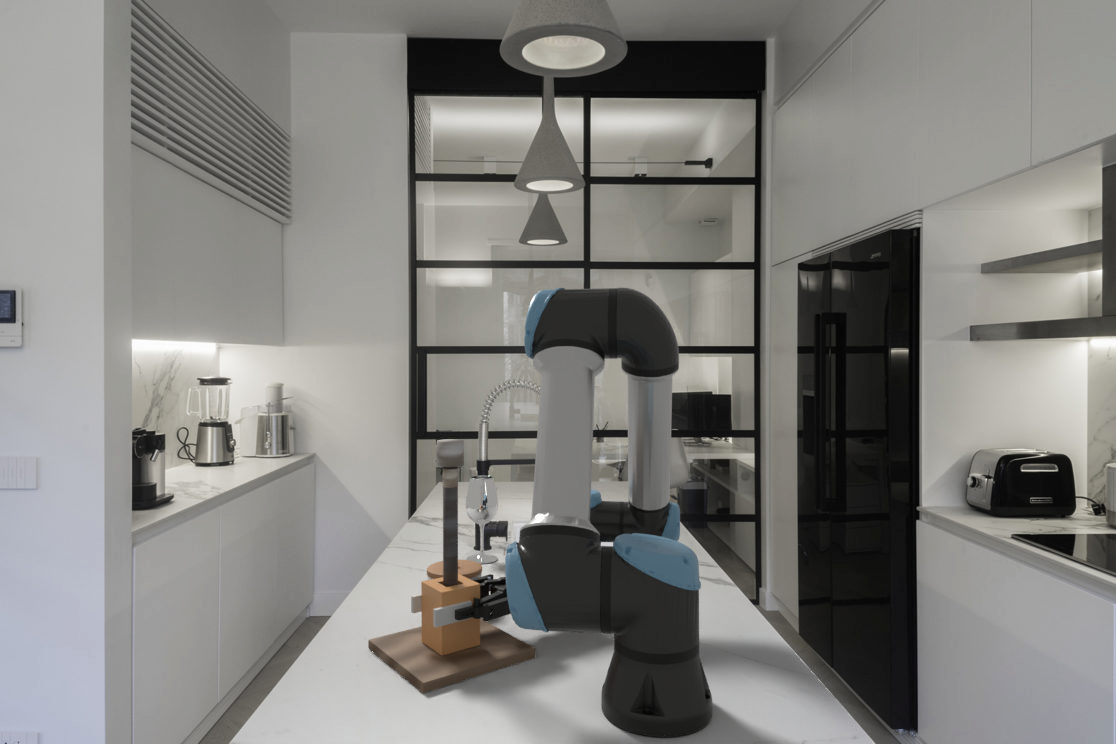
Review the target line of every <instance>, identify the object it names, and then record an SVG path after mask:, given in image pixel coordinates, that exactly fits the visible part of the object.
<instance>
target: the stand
mask: <svg viewBox="0 0 1116 744" xmlns="http://www.w3.org/2000/svg"><path fill="white" fill-rule="evenodd" d="M464 447H465V440H464V439H460V438H459V439H456V438H455V439H452V438H448V439H439V440H438V439H437V440H436V466H437V467H442V509H443V510H442V561H443V586H445V587H450V586H454V585H458V560H459V491H458V490H459V467H463V466H464V465H465V448H464ZM367 641H368V642H367V643H368V647H367V648H369V649H370V651H371V652H372V651H373V652H374V653H375V656H377V657H378V658H379V657H380V658H379V659H381V660H382V661H383V662H384V663H385V664H387V665H388V666H389V667H391V668H392V669H393V670H395V671H396V672H397V673H398V674H399V675H400V676H401V677H403V678H404V679H405V680H407V682H409V683H410V684H411V685H412V686H414V687H415V688H416V689H417V690H419V691H420V692H421V693H423V694H426V693H429V692H432V691H435V690H438V689H442V688H445V687H447V686H451V685H454V684H457V683H460V682H463V681H467V680H470V679H473V678H477V677H479V676H482V675H486V674H489V673H493V672H495V671H499V670H502V669H504V668H507V667H511V666H512V667H513V666H514V665H518V664H520V663H523V662H527V661H531V660H534V659H536V657H537V656H536V655H537V654H536V651H537V650H536V649H537V648H535V647H534V646H532V645H530V644H528V643H526V642H524V641H523V640H521V639H519V638H517V637H515V636H513V635H512V634H510V633H508V632H506V631H504V630H503V629H501V628H499V627H497V626H496V625H494V624H492V623H490V622H489V621H483V618H480V645H478V646H475V647H471V648H468V649H464V650H460V651H457V652H453V653H450V654H446V655H443V656H442V655H440V654H439V653H437V652H436V651H434V650H433V649H431V648H430V647H428V646H427V645H426V644H424V643H423V642H422V625H421V626H417V627H414V628H410V629H406V630H405V629H404V630H402V631H398V632H394V633H389V634H385V635H382V636H378V637H375V638H370V639H368V640H367ZM369 649H368V650H369ZM373 652H372V653H373ZM374 653H373V654H374Z"/></svg>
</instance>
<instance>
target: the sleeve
mask: <svg viewBox="0 0 1116 744" xmlns="http://www.w3.org/2000/svg"><path fill="white" fill-rule="evenodd" d="M420 594H422V612H421V626H422V642H423V643H424V644H426V645H427V646H428V647H430V648H431V649H433V650H434V651H436V652H437V653H439V654H440V655H442V656H443V655H446V654H450V653H453V652H457V651H460V650H464V649H468V648H471V647H475V646H478V645H480V619H475V618H474V617H472V618H471V619H467V620H463V621H459V622H456V623H452V624H448V625H444V626H440V627H436V628H435V627H434V626H433V609H435V608H439V607H444V606H448V605H452V604H456V603H461V602H465V601H469V600H470V601H472V606H473V605H474V597H475V598H479V599H480V584H479V583H477V582H475V581H473V580H471V579H468V578H466V577H464V576H462V575H460V574H458V585H454V586H450V587H445V586H443V577H441V578H436V579H431V580H423V581H421V593H420Z"/></svg>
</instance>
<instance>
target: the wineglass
mask: <svg viewBox="0 0 1116 744" xmlns="http://www.w3.org/2000/svg"><path fill="white" fill-rule="evenodd" d="M468 483H469V484H468V486H467V492H466V498H465V511H466V515H467V517H468V518H469V519H470V520H471V521H472V522H473V523H475V524H476V525H478V526H479V531H480V533H479V535H480V538H479V539H480V540H479V541H480V550H479V553H478V554H477V553H476V554H472V555H469V556H467V557H466V559H465V560H470V561H474V562H477V563H479V564H481V565H482V564H483V565H484V564H485V565H486V564H491V563H495V562H497V560H498V557H497V555H493V554H489V553H485V549H484V530H485V525H486V524H489V523H490V522H492V520H493V519H495V517H496V516H497V513H498V509H499V500H498V493H497V489H496V485H495V480H494V476H492V475H484V474H483V475H473V476H471V477H470V478H469V482H468Z"/></svg>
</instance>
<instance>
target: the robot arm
mask: <svg viewBox="0 0 1116 744" xmlns="http://www.w3.org/2000/svg"><path fill="white" fill-rule="evenodd" d="M525 317H526V319H525V325H524V330H525V331H524V338H523V340H524V352H525V355H526V356H527V358H529V359H531V360H532V364H533V367H534V369H535V370H536V371H537V372H538V373H539V374H540V375H541V376H540V378H541V379H540V392H539V403H538V416H537V419H538V420H537V432H536V433H537V435H536V448H535V461H534V473H533V474H534V476H533V478H534V479H533V491H532V503H531V505H532V506H531V516H530V520H528V521H527V522H526V523H525V524H524V525H523V526H522V527H520V530H519V536H518V538H519V539H518V541H513V542H511V543H509V544H508V545H507V546H506V554H505V560H504V561H505V563H504V568H505V571H504V573H505V576H499V577H498V578H494V574H490V573H488V574H486V575H483V576H481V577H478V578H472V579H471V580H473V581H475V582H477V583H479V584H480V599H479V598H475V597H474V605H473V606H472V601H470V600H469V601H465V602H461V603H456V604H452V605H448V606H444V607H439V608H435V609H433V626H434V627H435V628H436V627H440V626H444V625H448V624H452V623H456V622H459V621H463V620H467V619H471V618H472V617H474V618H475V619H480V618H481V619H483V621H486V622H491V621H493V620H496V619H499V618H502V617H505V616H508V615H510V616H511V618H512V620H513V622H514V623H515V625H516V626H518V628H521V629H524V630H532V631H540V632H541V631H542V632H544V633H550V632H564V633H585V634H610V635H611V634H612V635H613V638H614V639H613V641H614V642H613V654H612V656H611V660H610V663H609V666H608V670H607V673H606V676H605V680H604V683H603V685H602V688H601V700H600V701H601V704H600V705H601V711H602V713H603V715H604V717H605V718H606V719H607V720H608V721H610V723H611V724H613V725H615V726H616V727H619V728H621V729H623V730H625V731H628V732H630V733H634V734H638V735H642V736H648V737H649V736H650V737H656V738H657V737H658V738H659V737H660V738H661V737H662V738H663V737H664V738H667V737H668V738H669V737H671V738H672V737H680V736H685V735H686V736H687V735H690V734H692V733H695V732H698V731H700V730H702V729H703V728H705V727H706V726H707V725H708V724H709V723H710V721H711V720H712V717H713V696H712V693H711V690H710V687H709V683H708V678H707V676H706V673H705V669H704V666H703V663H702V660H701V657H700V589H702V588H701V587H702V582H701V580H700V566H699V564H700V563H699V558H698V556H697V554H696V553H695V552H694V550H693V549H692V548H691V547H690V546H688V545H686V544H684V543H682V542H680V541H679V540H680V536H681V508H680V505H679V504H678V503H676V502H671V501H670V499H671V463H672V462H671V460H672V457H671V455H672V418H673V417H672V415H673V414H672V413H673V412H672V411H673V409H672V408H673V376H674V375H675V374H677V373H678V371H679V369H680V367H679V366H680V354H679V353H680V349H679V344H678V340H677V336H676V333H675V331H674V328H673V326H672V324H671V323H670V320H669V318H668V317H667V315H666V314H665V312H664V310H662V309H661V307H660V306H659V305H658V304H657V303H656V302H655V301H654V300H653V299H652V298H650V297H649V296H648V295H646V294H645V293H643V292H641V291H638V290H636V289H633V288H630V287H616V288H610V287H607V288H606V287H605V288H568V289H567V288H566V289H565V287H557V288H551V289H541V290H539V291H538V292H537V293H535V294H534V295H533V296H532V299H530V303H529V306H528V309H527V313H526V316H525ZM605 359H606V360H607V359H608V360H609V359H613V360H614V359H615V360H616V359H621V360H620V361H621V364H620V365H621V366H620V367H621V370H622V372H623V373H624V374H625V375H626V376H627V465H628V466H627V489H628V490H627V495H628V497H627V500H628V501H614V500H613V501H609V500H603V499H602V494H601V492H600V491H599V490H597V489H593V488H592V474H593V473H592V469H593V440H594V439H593V438H594V410H595V409H594V408H595V383H596V382H595V380H596V379H595V378H596V377H597V376H598V375H600V374H602V372H603V371H604V369H605ZM602 543H612V545H602ZM410 596H411V597H410V604H411V606H410V608H411V609H410V611H411V612H410V613H411V614H417V613H422V594H421V593H418V594H413V595H410Z"/></svg>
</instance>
